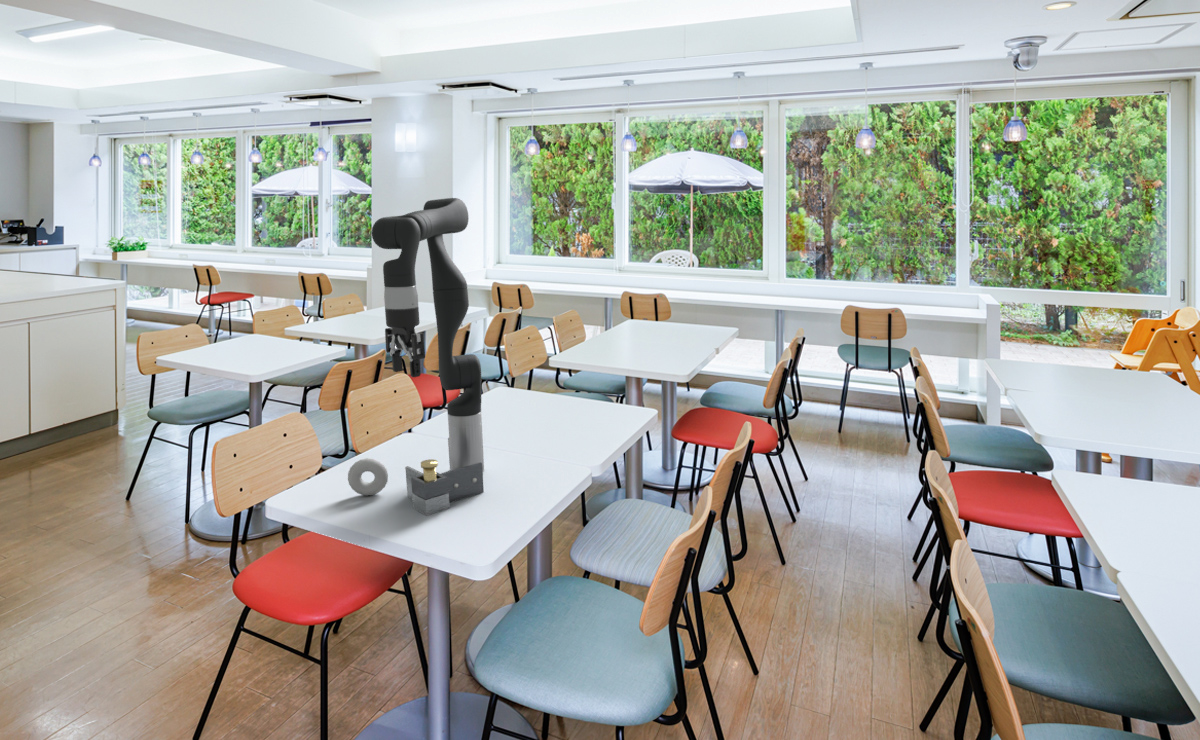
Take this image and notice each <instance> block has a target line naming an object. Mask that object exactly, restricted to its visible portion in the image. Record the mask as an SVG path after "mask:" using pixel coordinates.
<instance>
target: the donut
mask: <svg viewBox="0 0 1200 740" xmlns="http://www.w3.org/2000/svg"><path fill="white" fill-rule="evenodd" d="M365 472H366V473H367V472H368V473H369V472H370V473H372V475H373V476H374V478H373V481H370V482H366V481H364V480H363V478H362V475H363V474H364V473H365ZM388 477H389V474H388V470H387V468H386V467H385V464H383V463H382V462H381V461H379V460H377V459H375V458H369V457H367V458H362V459H359V460H357V461H355V462H354V463H353V464H352V466H350V468H349V470H348V472H347V481H348V485H349V486H350V488H351V489H352V491H354V492H355V493H357V494H359V495H362V496H368V495H370V496H374V495H377V494H379V493H381V491H383V490H384V488H385V487H386V485H387V484H388V481H389V478H388Z"/></svg>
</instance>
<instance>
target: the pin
mask: <svg viewBox="0 0 1200 740" xmlns="http://www.w3.org/2000/svg"><path fill="white" fill-rule="evenodd" d="M438 466H439V464H438V460H437V459H432V458H431V459H425V460H421V462H420V468H421V469H422V470H423V472H422V473H423V474H424V481H425V482H428V481H431V480H435V479H436V472H437V467H438Z"/></svg>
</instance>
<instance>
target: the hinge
mask: <svg viewBox="0 0 1200 740" xmlns="http://www.w3.org/2000/svg"><path fill="white" fill-rule="evenodd" d="M404 469H405V481H406V482H405V483H406V494H407V497H408V498H409V499H412V509H414V510H416V511H417V512H420V513H421V514H423V515H425V516H429V515H432V514H437V513H438V512H441V511H444V510H448V509H450V504H451V503H455V502H456V501H457V502H458V501H459V500H463V499H466V498H469V497H472V496H476V495H478V494H481V493H482V494H483V493H484V492H485V491H484V471H483V468H482V463H481V462H479V463H476V464H472V465H469V466H465V467H462V468H458V469H455V470H449V471H448V470H447V471H445V472H441V473H440V472H437V471H436V479H435V480H431V481H428V482H425V481H424V473H423V472H422V471H419V470H417V469H415V468H413V467H411V466H408V465H407V466H405V467H404Z"/></svg>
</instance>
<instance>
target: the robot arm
mask: <svg viewBox="0 0 1200 740" xmlns="http://www.w3.org/2000/svg"><path fill="white" fill-rule="evenodd" d="M469 218H470V217H469V212H468V208H467V206H466V203H465V202H464V200H462V199H461V198H457V197H449V198H448V197H447V198H440V199H439V198H438V199H431V200H427V201H426V202H425V203H424V205H423V210H422V209H421V210H416V211H412V212H409V213H405V214H403V215H393V216H385V217H381V218H379V219H378V218H377V220H376V221H375V222H374V223H373V225H372V228H371V238H372V240H373V243H374V244H375V245H376V246H378V247H379V248H381V249H384V250H401V251H400V254H399V256H398V258H395V259H390V260H387V261H385V262H384V263H383V265H382V268H383V269H382V270H383V271H382V273H383V274H382V275H383V284H384V285H383V286H384V288H383V289H384V291H383V294H384V295H383V300H384V311H385V312H384V314H385V325H386V327H387V328H385V329H384V335H385V336H384V337H385V352H386V353H387V354H388V353H389V355H390V357H391V361H392V362H391V365H392V371H393V372H394V373H398V372H402V371H403V355H402V352H404V354H406V355H407V357H408V360H409V371H410V372H409V373H410V377H411V378H417V377H421V360H423V359H425V358H426V351H425V342H424V334H423V332H417V333H416V331H415V330H416V329H415V328H416V327H417V326H419V324H420V309H419V295H418V290H417V283H416V282H417V281H416V263H417V262H416V261H417V255H418V252H419V251H418V250H419V246H420V242H421V241H422V242H423V241H425V240H426V242H427V248H428V254H429V261H430V268H431V269H430V270H431V281H432V285H431V287H432V296H433V305H434V312H435V320H436V321H435V322H436V329H437V330H436V331H437V349H438V350H437V351H438V352H437V353H438V355H437V356H438V374H439V380H440V383H441V384H440V385H441V387H442V388H443V389H444V390H445V391H455V390H464V389H465V390H464V391H463V392H462V393H461V394H460V395H458V396H457V397H455V398H454V399H452V400H450V401H449V402H448V403H447V407H446V411H447V422H448V424H447V425H448V438H447V442H448V457H449V458H448V459H449V460H448V461H449V462H448V463H449V471H451V470H455V469H458V468H462V467H465V466H469V465H472V464H476V463H479V462H481V463H482V468H483V472H484V471H485V461H484V460H485V458H484V439H483V438H484V437H483V421H482V419H483V417H482V367H481V361H480V359H479V358H478V356H477V355H476V354H471V353H470V354H461V355H453V350H454V341H455V338H456V335H457V334H458V333H457V332H458V331H459V329H460V327H461V325H462V323H463V322H464V319H465V317H466V316H467V313H468V311H469V305H470V304H469V291H468V283H467V280H466V278H465V277H464V275H463V273H462V272H461V270H460V269H459V268H458V267H457V265H456V264H455V262H454V261H453V260H452V258H451V257H450V256H449V253H448V252H447V249H446V245H445V242H444V238H443V237H444V236H443V235H449V234H457V233H461V232H463V231H465V230H466V229H467V227H468V225H469Z"/></svg>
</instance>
